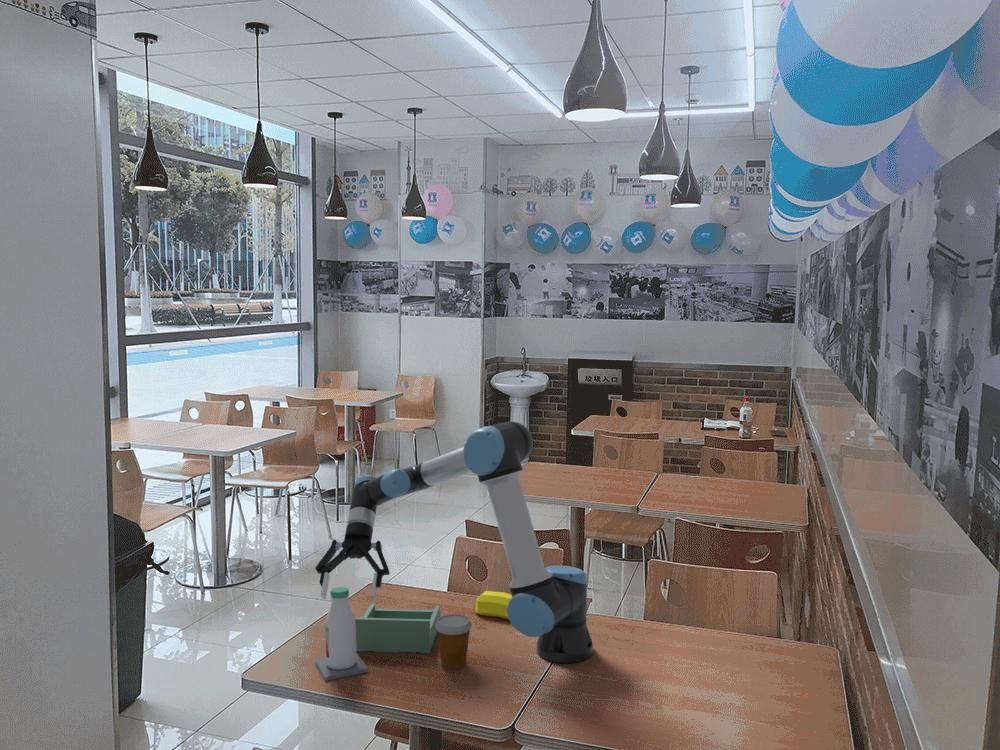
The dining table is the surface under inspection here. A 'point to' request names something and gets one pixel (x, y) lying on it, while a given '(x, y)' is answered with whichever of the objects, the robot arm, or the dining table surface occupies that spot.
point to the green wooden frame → (396, 630)
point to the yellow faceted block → (493, 604)
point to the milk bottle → (340, 631)
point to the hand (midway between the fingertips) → (347, 597)
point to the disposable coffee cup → (453, 639)
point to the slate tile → (334, 674)
